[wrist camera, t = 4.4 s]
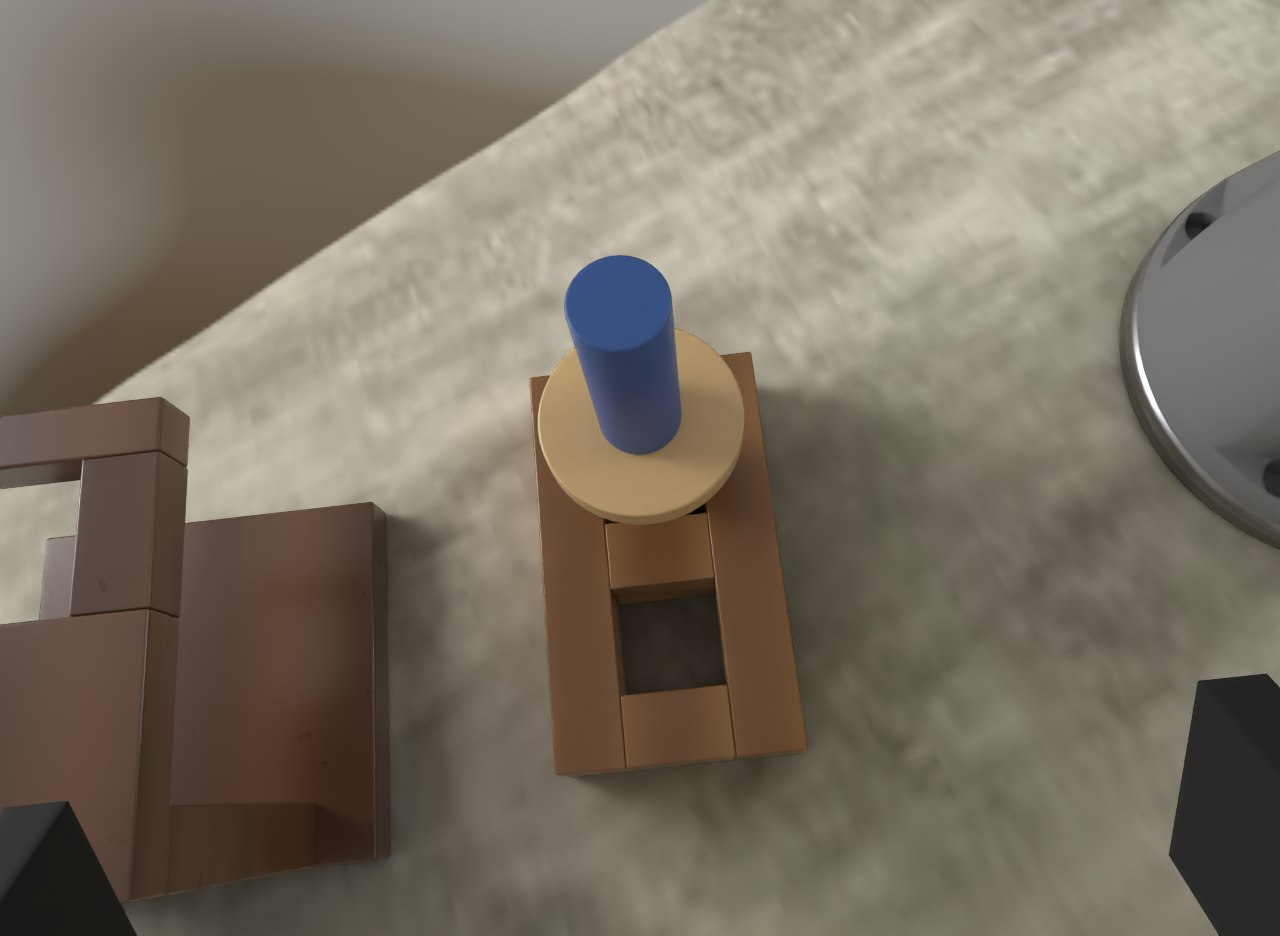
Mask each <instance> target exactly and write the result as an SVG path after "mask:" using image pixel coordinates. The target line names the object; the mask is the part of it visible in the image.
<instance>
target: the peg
mask: <svg viewBox="0 0 1280 936" xmlns="http://www.w3.org/2000/svg"><path fill="white" fill-rule="evenodd" d="M564 310H565V317H566V320H567V323H568V326H569V329H570V333H571V336H572V339H573V342H574V345H575V348H574V349H572V350H571V351H570V352H569V353H568V354H567V355H566V356H565V357H564V358H563V359H562V360H561V362H560V363H559V364H558V366H557V367H556V368H555V369H554V371H553V373H552V374H551V376H550V378H549V379H548V381H547V384H546V386H545V388H544V391H543V394H542V397H541V401H540V404H539V411H538V434H539V442H540V445H541V449H542V452H543V455H544V457H545V459H546V462H547V464H548V466H549V468H550V470H551V472H552V474H553V476H554V477H555V479H556V480H557V482H558V484H559V485H560V486H561V487H562V489H563V490H564V491H565V492H566V493H567V495H568V496H570V497H571V498H572V499H573V500H574V501H575V502H576V503H577V504H579V505H580V506H582V507H583V508H585V509H586V510H588V511H590V512H592V513H594V514H596V515H597V516H599V517H602V518H605V519H608V520H611V521H615V522H620V523H624V524H636V525H643V524H655V523H661V522H666V521H670V520H673V519H676V518H679V517H681V516H683V515H686V514H688V513H690V512H692V511H694V510H695V509H697V508H698V507H700V506H702V505H703V504H704V503H705V502H707V501H708V500H709V499H710V498H712V497H713V496H714V495H715V494H716V493H717V492H718V490H719V489H720V488H721V487H722V486H723V485H724V483H725V482H726V480H727V479H728V478H729V476H730V474H731V473H732V471H733V469H734V467H735V465H736V462H737V460H738V457H739V454H740V451H741V446H742V441H743V431H744V405H743V400H742V395H741V392H740V389H739V386H738V383H737V381H736V379H735V377H734V375H733V373H732V371H731V369H730V368H729V367H728V365H727V364H726V363H725V361H724V360H723V359H722V358H721V357H720V355H719V354H718V353H717V352H716V351H715V350H714V349H712V348H711V347H710V346H709V345H707V344H706V343H705V342H703V341H702V340H700V339H698V338H697V337H695V336H694V335H691V334H689V333H687V332H685V331H683V330H680V329H676V328H674V319H673V308H672V297H671V291H670V288H669V285H668V283H667V281H666V280H665V278H664V277H663V275H662V274H661V273H660V272H659V271H658V270H657V269H656V268H655V267H654V266H652V265H651V264H649V263H647V262H646V261H644V260H641V259H639V258H635V257H631V256H622V255H618V256H609V257H605V258H602V259H599V260H596V261H594V262H592V263H591V264H589V265H587V266H586V267H585V268H583V269H582V270H581V271H580V272H579V273H578V274H577V275H576V276H575V278H574V279H573V280H572V282H571V284H570V285H569V288H568V290H567V293H566V296H565V303H564Z"/></svg>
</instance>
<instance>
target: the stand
mask: <svg viewBox="0 0 1280 936" xmlns="http://www.w3.org/2000/svg"><path fill="white" fill-rule="evenodd" d="M189 427H190V418H189V416H188V415H186V414H185V413H184V412H182V411H181V410H179V409H178V408H177V407H175V406H174V405H173V404H171V403H170V402H168V401H167V400H166V399H164V398H162V397H156V398H147V399H139V400H130V401H122V402H113V403H105V404H97V405H88V406H80V407H72V408H63V409H54V410H46V411H38V412H29V413H21V414H12V415H4V416H0V489H6V488H15V487H23V486H32V485H41V484H49V483H58V482H67V481H75V480H81V483H80V495H79V506H78V517H77V529H76V536H67V537H58V538H49V539H47V544H46V555H45V565H44V575H43V585H42V595H41V606H40V616H39V620H37V621H28V622H19V623H10V624H1V625H0V813H1V812H2V811H3V809H4V808H5V807H13V806H22V805H32V804H41V803H50V802H60V801H69V803H70V805H71V807H72V809H73V811H74V813H75V815H76V817H77V819H78V821H79V823H80V825H81V827H82V829H83V831H84V833H85V835H86V837H87V839H88V841H89V843H90V845H91V847H92V848H93V850H94V852H95V854H96V856H97V858H98V860H99V862H100V864H101V866H102V868H103V870H104V872H105V874H106V876H107V878H108V880H109V882H110V884H111V886H112V888H113V890H114V892H115V894H116V896H117V898H118V900H119V902H120V903H125V902H132V901H138V900H143V899H148V898H154V897H159V896H164V895H170V894H175V893H181V892H186V891H191V890H197V889H202V888H207V887H213V886H218V885H223V884H229V883H234V882H239V881H245V880H250V879H255V878H261V877H266V876H271V875H277V874H282V873H287V872H293V871H298V870H303V869H309V868H314V867H324V866H334V865H344V864H355V863H365V862H375V861H380V860H385V859H388V858H390V800H389V729H388V659H387V589H386V518H385V512H384V511H382V510H381V509H380V508H379V507H378V506H377V505H375V504H374V503H373V502H367V503H358V504H349V505H340V506H331V507H323V508H314V509H305V510H296V511H287V512H278V513H270V514H261V515H252V516H243V517H234V518H225V519H217V520H208V521H199V522H190V523H185V514H186V495H187V475H188V470H187V468H186V467H187V465H188V446H189Z"/></svg>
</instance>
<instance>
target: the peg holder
mask: <svg viewBox="0 0 1280 936" xmlns="http://www.w3.org/2000/svg"><path fill="white" fill-rule="evenodd" d="M720 357H721V358H722V359H723V360H724V361H725V363H726V364H727V365H728V367H729V368H730V369H731V371H732V373H733V375H734V377H735V379H736V381H737V383H738V386H739V389H740V392H741V395H742V400H743V405H744V431H743V441H742V446H741V451H740V454H739V457H738V460H737V462H736V465H735V467H734V469H733V471H732V473H731V474H730V476H729V478H728V479H727V480H726V482H725V483H724V485H723V486H722V487H721V488H720V489H719V490H718V492H717V493H716V494H715V495H714V496H713V497H712V498H710V499H709V500H708V501H707V502H705V503H704V511H705V513H701V514H692V515H683V516H681V517H679V518H676V519H673V520H670V521H666V522H661V523H655V524H643V525H636V524H624V523H611V520H608V519H605V518H602V517H599V516H597V515H596V514H594V513H592V512H590V511H588V510H586V509H585V508H583V507H582V506H580V505H579V504H577V503H576V502H575V501H574V500H573V499H572V498H571V497H570V496H568V495H567V493H566V492H565V491H564V490H563V489H562V487H561V486H560V485H559V484H558V482H557V480H556V479H555V477H554V476H553V474H552V472H551V470H550V468H549V466H548V464H547V462H546V459H545V457H544V455H543V452H542V449H541V445H540V442H539V434H538V411H539V404H540V401H541V397H542V394H543V391H544V388H545V386H546V384H547V381H548V379H549V378H550V376H551V375H549V376H540V377H532V378H530V394H531V410H532V425H533V440H534V456H535V471H536V486H537V502H538V517H539V532H540V548H541V563H542V578H543V593H544V609H545V624H546V639H547V655H548V670H549V685H550V701H551V716H552V731H553V747H554V762H555V774H556V775H558V776H567V777H574V776H584V775H593V774H603V773H613V772H623V771H632V770H633V769H634V770H642V769H652V768H662V767H672V766H681V765H691V764H701V763H711V762H721V761H730V760H734V758H735V759H736V760H740V759H750V758H760V757H770V756H780V755H789V754H799V753H801V752H803V751H805V750H807V749H808V744H807V737H806V730H805V723H804V716H803V709H802V702H801V695H800V688H799V681H798V675H797V668H796V661H795V654H794V647H793V640H792V633H791V626H790V619H789V612H788V605H787V598H786V591H785V584H784V577H783V571H782V564H781V557H780V550H779V543H778V536H777V529H776V522H775V515H774V508H773V501H772V494H771V487H770V480H769V473H768V467H767V460H766V453H765V446H764V439H763V432H762V425H761V418H760V411H759V404H758V397H757V390H756V383H755V376H754V369H753V363H752V356H751V352H745V353H736V354H728V355H720ZM714 593H715V602H716V610H717V618H718V626H719V635H720V643H721V651H722V659H723V668H724V676H725V684H726V685H717V686H708V687H698V688H689V689H679V690H669V691H660V692H650V693H641V694H631V695H627V693H626V681H625V670H624V659H623V648H622V637H621V626H620V614H619V605H626V604H635V603H644V602H654V601H663V600H672V599H681V598H690V597H700V596H709V595H714Z"/></svg>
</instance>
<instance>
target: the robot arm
mask: <svg viewBox="0 0 1280 936" xmlns="http://www.w3.org/2000/svg"><path fill="white" fill-rule="evenodd" d="M1120 357H1121V366H1122V372H1123V376H1124V381H1125V386H1126V389H1127V392H1128V395H1129V398H1130V401H1131V404H1132V407H1133V409H1134V411H1135V414H1136V416H1137V418H1138V420H1139V423H1140V425H1141V427H1142V428H1143V430H1144V432H1145V434H1146V435H1147V437H1148V439H1149V441H1150V443H1151V444H1152V446H1153V447H1154V448H1155V450H1156V451H1157V453H1158V454H1159V456H1160V457H1161V459H1162V460H1163V461H1164V463H1165V464H1166V465H1167V466H1168V467H1169V469H1170V470H1171V471H1172V472H1173V473H1174V474H1175V476H1176V477H1177V478H1178V479H1179V480H1180V481H1181V482H1182V483H1183V484H1184V485H1185V486H1186V487H1187V488H1188V489H1189V490H1190V491H1191V492H1192V493H1193V494H1194V495H1195V496H1196V497H1197V498H1199V499H1200V500H1201V501H1202V502H1203V503H1204V504H1206V505H1207V506H1208V507H1209V508H1210V509H1212V510H1213V511H1214V512H1216V513H1217V514H1219V515H1220V516H1221V517H1223V518H1224V519H1226V520H1227V521H1228V522H1230V523H1231V524H1233V525H1235V526H1236V527H1238V528H1240V529H1241V530H1243V531H1245V532H1246V533H1248V534H1250V535H1251V536H1253V537H1256V538H1258V539H1260V540H1262V541H1264V542H1266V543H1268V544H1270V545H1272V546H1274V547H1277V548H1279V549H1280V151H1278V152H1276V153H1274V154H1272V155H1270V156H1268V157H1266V158H1264V159H1262V160H1260V161H1258V162H1256V163H1254V164H1252V165H1250V166H1248V167H1246V168H1244V169H1242V170H1240V171H1238V172H1237V173H1235V174H1233V175H1231V176H1229V177H1227V178H1226V179H1224V180H1223V181H1221V182H1220V183H1218V184H1217V185H1215V186H1214V187H1212V188H1211V189H1209V190H1208V191H1207V192H1205V193H1204V194H1203V195H1201V196H1200V197H1199V198H1197V199H1196V200H1195V201H1193V202H1192V203H1191V204H1190V205H1189V206H1188V207H1187V208H1185V209H1184V210H1183V211H1182V212H1181V213H1180V214H1179V215H1178V216H1177V217H1176V218H1175V219H1174V221H1173V222H1172V223H1171V224H1170V225H1169V227H1168V228H1167V229H1166V230H1165V231H1164V233H1163V234H1162V235H1161V236H1160V238H1159V239H1158V240H1157V241H1156V243H1155V244H1154V245H1153V246H1152V248H1151V249H1150V250H1149V252H1148V253H1147V255H1146V256H1145V258H1144V259H1143V260H1142V262H1141V263H1140V265H1139V267H1138V269H1137V271H1136V273H1135V275H1134V277H1133V279H1132V281H1131V284H1130V287H1129V289H1128V292H1127V295H1126V298H1125V303H1124V307H1123V311H1122V317H1121V325H1120ZM1169 856H1170V858H1171V859H1172V861H1173V863H1174V864H1175V866H1176V867H1177V869H1178V870H1179V872H1180V874H1181V875H1182V877H1183V878H1184V880H1185V882H1186V883H1187V885H1188V886H1189V888H1190V890H1191V891H1192V893H1193V894H1194V896H1195V898H1196V899H1197V901H1198V902H1199V904H1200V906H1201V907H1202V909H1203V910H1204V912H1205V914H1206V915H1207V917H1208V918H1209V920H1210V922H1211V923H1212V925H1213V926H1214V928H1215V930H1216V931H1217V933H1218V934H1219V936H1280V687H1279V686H1278V685H1277V684H1276V683H1275V682H1274V681H1273V680H1272V679H1271V678H1270V676H1269V675H1268V674H1259V675H1249V676H1240V677H1231V678H1221V679H1212V680H1202V681H1198V684H1197V690H1196V696H1195V702H1194V708H1193V714H1192V720H1191V726H1190V732H1189V738H1188V744H1187V750H1186V756H1185V762H1184V768H1183V774H1182V780H1181V786H1180V792H1179V798H1178V804H1177V809H1176V815H1175V821H1174V827H1173V833H1172V839H1171V845H1170V851H1169ZM0 936H137V935H136V933H135V931H134V929H133V927H132V925H131V923H130V921H129V919H128V917H127V915H126V913H125V911H124V909H123V907H122V905H121V904H120V902H119V900H118V898H117V896H116V894H115V892H114V890H113V888H112V886H111V884H110V882H109V880H108V878H107V876H106V874H105V872H104V870H103V868H102V866H101V864H100V862H99V860H98V858H97V856H96V854H95V852H94V850H93V848H92V847H91V845H90V843H89V841H88V839H87V837H86V835H85V833H84V831H83V829H82V827H81V825H80V823H79V821H78V819H77V817H76V815H75V813H74V811H73V809H72V807H71V805H70V803H69V801H60V802H50V803H41V804H32V805H22V806H13V807H5V808H4V809H3V811H2V812H1V813H0Z"/></svg>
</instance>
